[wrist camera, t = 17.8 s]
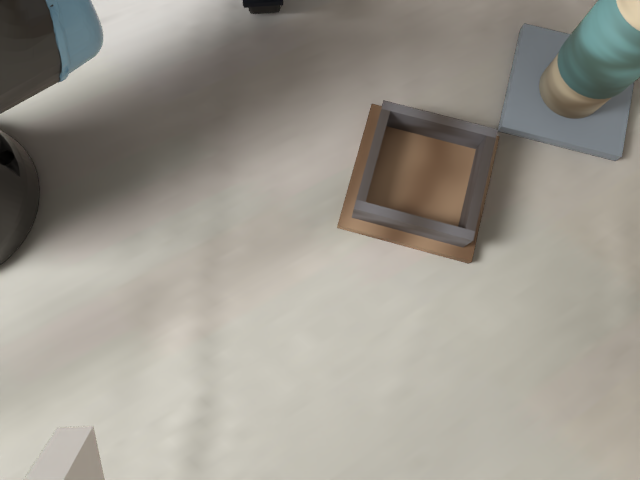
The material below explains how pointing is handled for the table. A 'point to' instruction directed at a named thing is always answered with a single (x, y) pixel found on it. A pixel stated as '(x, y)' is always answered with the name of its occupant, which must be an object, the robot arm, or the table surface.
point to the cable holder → (420, 180)
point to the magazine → (262, 5)
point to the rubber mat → (540, 121)
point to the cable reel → (595, 60)
